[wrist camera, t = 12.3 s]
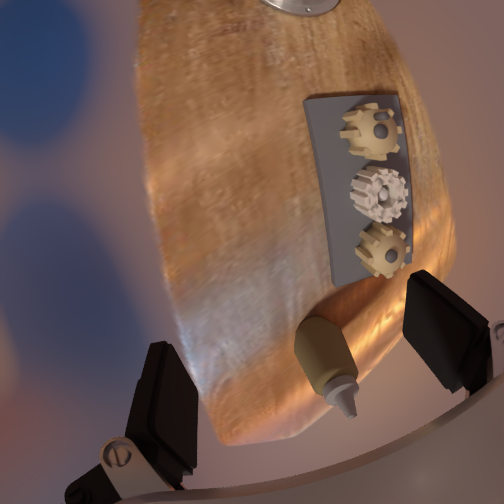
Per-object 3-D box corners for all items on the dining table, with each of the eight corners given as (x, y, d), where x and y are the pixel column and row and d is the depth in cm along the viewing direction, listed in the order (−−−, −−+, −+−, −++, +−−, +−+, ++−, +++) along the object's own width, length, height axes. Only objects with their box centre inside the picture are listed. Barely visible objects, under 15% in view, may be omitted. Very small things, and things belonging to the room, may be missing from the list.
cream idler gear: (346, 169, 32) (361, 173, 28) (388, 162, 32) (405, 166, 28) (353, 219, 35) (367, 228, 31) (393, 209, 35) (409, 217, 31)
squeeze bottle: (332, 302, 41) (384, 385, 24) (337, 338, 44) (380, 417, 28) (283, 319, 41) (316, 412, 25) (293, 354, 44) (323, 440, 28)
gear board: (302, 101, 30) (323, 90, 23) (391, 96, 30) (424, 90, 23) (332, 282, 40) (352, 309, 33) (406, 259, 40) (433, 279, 33)
